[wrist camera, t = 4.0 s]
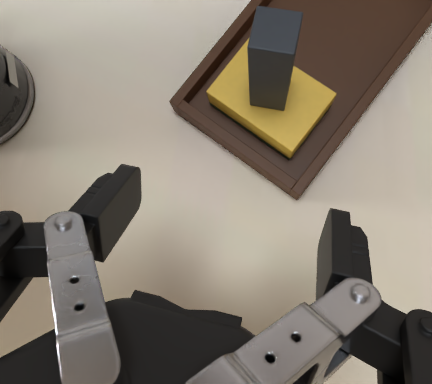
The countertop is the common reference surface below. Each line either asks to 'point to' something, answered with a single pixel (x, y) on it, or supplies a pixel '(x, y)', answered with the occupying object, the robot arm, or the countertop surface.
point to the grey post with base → (271, 85)
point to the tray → (316, 68)
